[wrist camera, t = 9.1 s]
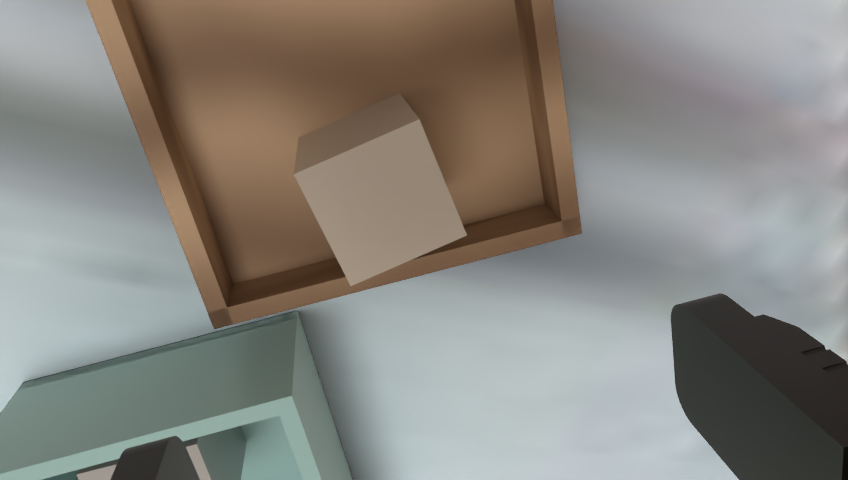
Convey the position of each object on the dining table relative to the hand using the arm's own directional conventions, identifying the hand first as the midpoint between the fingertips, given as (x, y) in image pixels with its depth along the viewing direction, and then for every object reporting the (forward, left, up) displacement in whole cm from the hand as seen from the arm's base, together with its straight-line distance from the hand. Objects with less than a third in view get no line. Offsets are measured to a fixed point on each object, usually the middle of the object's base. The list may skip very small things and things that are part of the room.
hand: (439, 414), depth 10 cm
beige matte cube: (0, 0, -15) cm, 15 cm away
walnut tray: (-4, 0, -16) cm, 16 cm away
